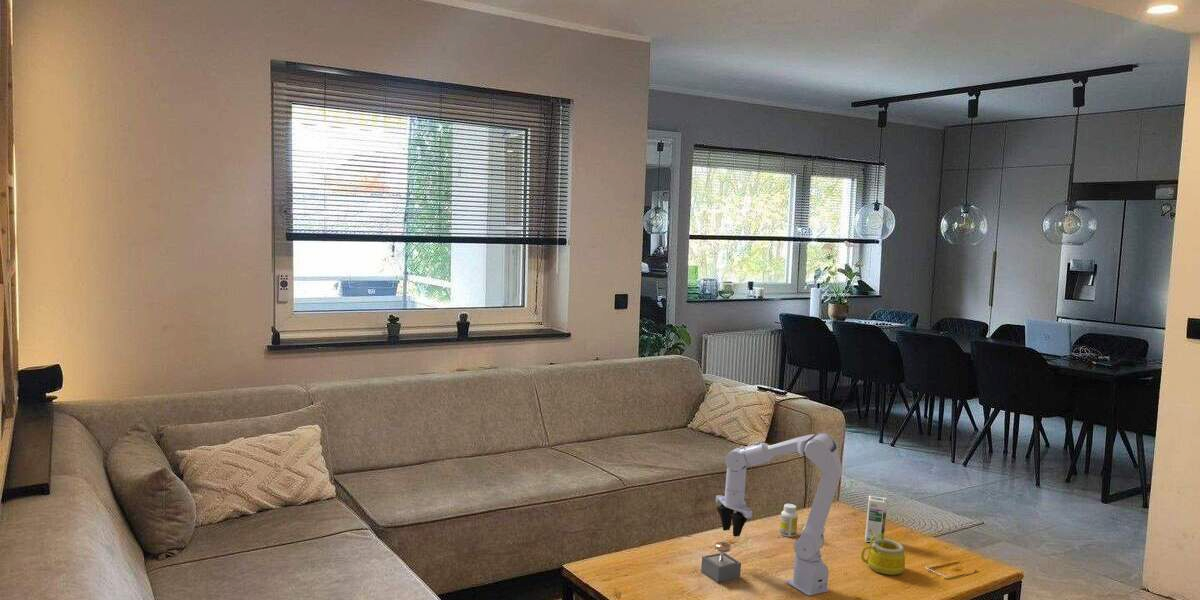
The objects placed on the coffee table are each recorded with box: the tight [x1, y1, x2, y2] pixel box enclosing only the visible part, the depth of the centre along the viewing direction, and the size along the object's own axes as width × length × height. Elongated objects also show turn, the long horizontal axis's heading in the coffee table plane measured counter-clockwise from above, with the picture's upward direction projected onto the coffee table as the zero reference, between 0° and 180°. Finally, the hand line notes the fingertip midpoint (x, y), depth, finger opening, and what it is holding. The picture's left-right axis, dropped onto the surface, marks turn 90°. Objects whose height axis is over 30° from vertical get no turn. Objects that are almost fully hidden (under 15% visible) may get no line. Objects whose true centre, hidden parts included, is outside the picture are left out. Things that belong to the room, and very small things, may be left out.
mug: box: [860, 529, 906, 576], centre depth 256 cm, size 13×11×12 cm
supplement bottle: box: [779, 503, 799, 538], centre depth 280 cm, size 5×5×10 cm
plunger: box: [708, 541, 736, 566], centre depth 245 cm, size 6×6×5 cm
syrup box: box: [864, 495, 888, 543], centre depth 278 cm, size 6×6×14 cm
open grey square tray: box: [700, 552, 742, 584], centre depth 245 cm, size 8×8×5 cm
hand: (731, 532), depth 252 cm, fingers open, 4 cm apart
